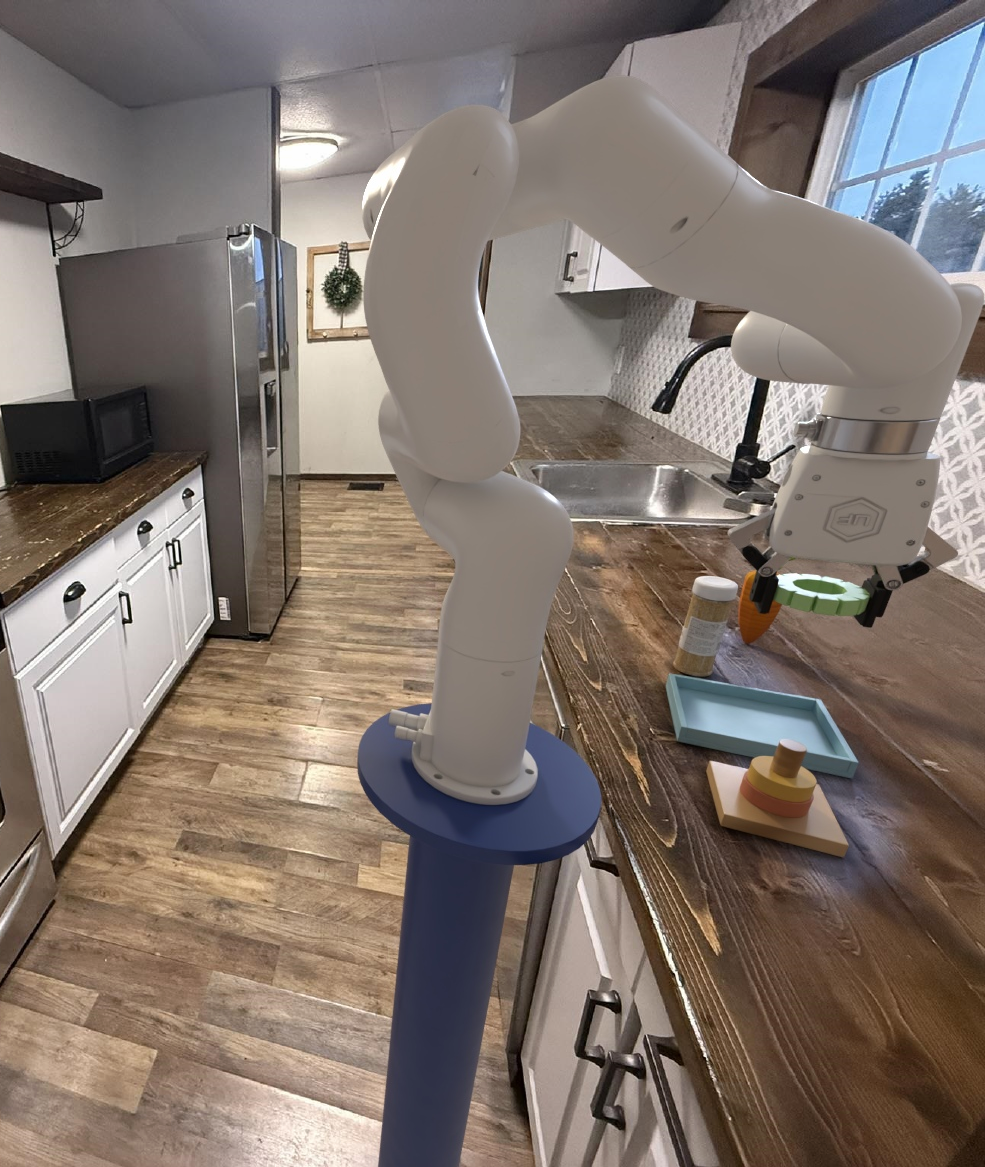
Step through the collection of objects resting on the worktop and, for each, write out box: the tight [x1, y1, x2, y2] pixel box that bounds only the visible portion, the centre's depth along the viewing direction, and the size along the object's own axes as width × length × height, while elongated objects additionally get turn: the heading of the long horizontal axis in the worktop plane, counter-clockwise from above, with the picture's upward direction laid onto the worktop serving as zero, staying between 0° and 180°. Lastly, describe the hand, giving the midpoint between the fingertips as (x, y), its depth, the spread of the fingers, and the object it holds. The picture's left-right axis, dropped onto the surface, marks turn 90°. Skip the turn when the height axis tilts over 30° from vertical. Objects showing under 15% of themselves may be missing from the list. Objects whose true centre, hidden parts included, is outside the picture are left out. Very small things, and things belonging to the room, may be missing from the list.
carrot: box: [737, 557, 797, 645], centre depth 90 cm, size 5×5×15 cm
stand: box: [705, 739, 850, 858], centre depth 61 cm, size 9×9×8 cm
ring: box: [773, 572, 870, 617], centre depth 62 cm, size 7×7×2 cm
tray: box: [665, 673, 860, 779], centre depth 74 cm, size 15×13×2 cm
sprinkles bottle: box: [672, 575, 739, 678], centre depth 85 cm, size 5×5×14 cm
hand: (809, 613), depth 63 cm, fingers closed on ring, 7 cm apart
